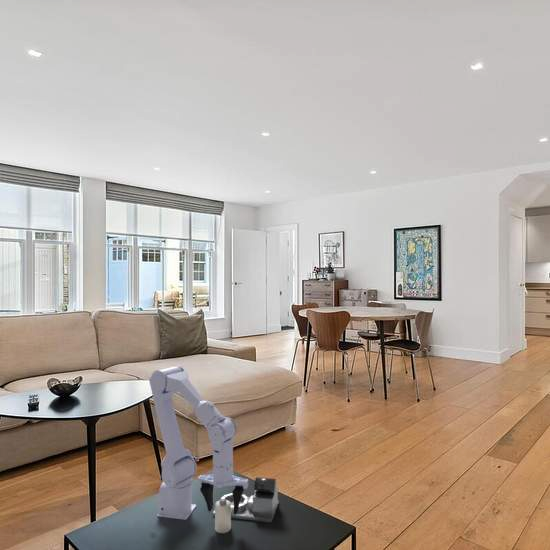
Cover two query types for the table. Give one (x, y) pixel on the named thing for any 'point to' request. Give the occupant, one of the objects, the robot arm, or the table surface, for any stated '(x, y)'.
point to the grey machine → (257, 502)
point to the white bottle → (222, 516)
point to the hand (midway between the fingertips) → (223, 510)
